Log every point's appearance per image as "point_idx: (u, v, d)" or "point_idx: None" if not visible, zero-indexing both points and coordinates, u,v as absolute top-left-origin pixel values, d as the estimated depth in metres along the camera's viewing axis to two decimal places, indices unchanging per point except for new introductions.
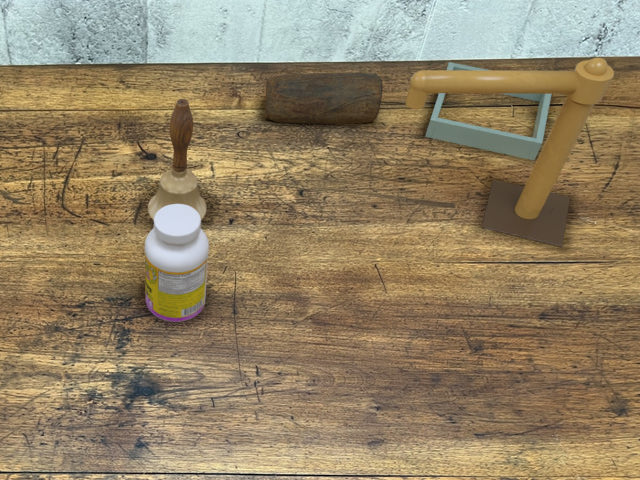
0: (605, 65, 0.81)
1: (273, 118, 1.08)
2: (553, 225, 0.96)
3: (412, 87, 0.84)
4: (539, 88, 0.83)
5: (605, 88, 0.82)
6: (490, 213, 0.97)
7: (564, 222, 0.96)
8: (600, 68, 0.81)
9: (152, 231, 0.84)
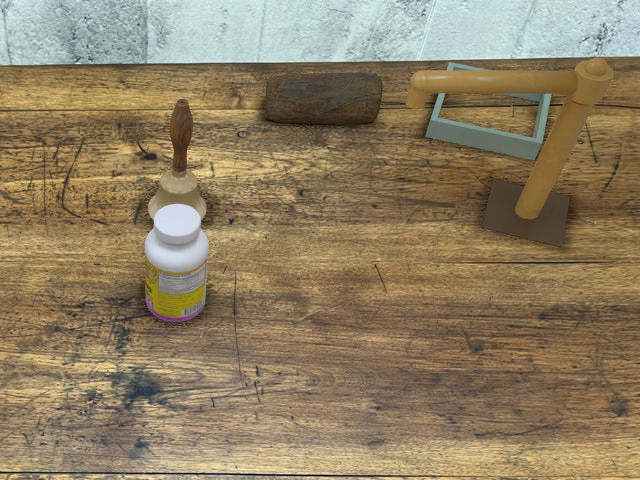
0: (605, 65, 0.81)
1: (273, 118, 1.08)
2: (553, 225, 0.96)
3: (412, 87, 0.84)
4: (539, 88, 0.83)
5: (605, 88, 0.82)
6: (490, 213, 0.97)
7: (564, 222, 0.96)
8: (600, 68, 0.81)
9: (152, 231, 0.84)
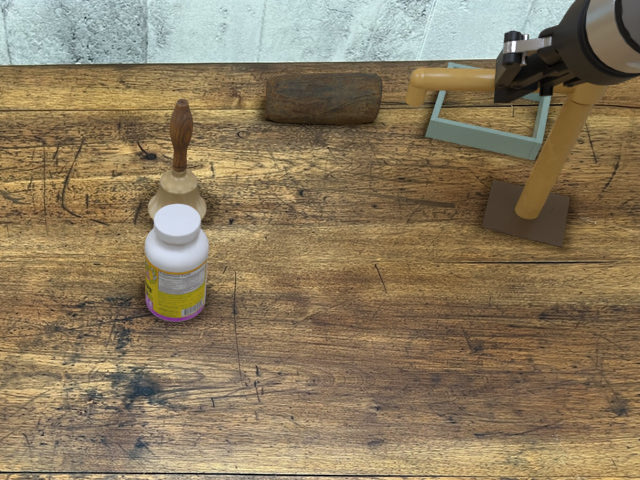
0: None
1: (273, 118, 1.08)
2: (553, 225, 0.96)
3: (411, 84, 0.84)
4: None
5: (605, 88, 0.82)
6: (490, 213, 0.97)
7: (564, 222, 0.96)
8: None
9: (152, 231, 0.84)
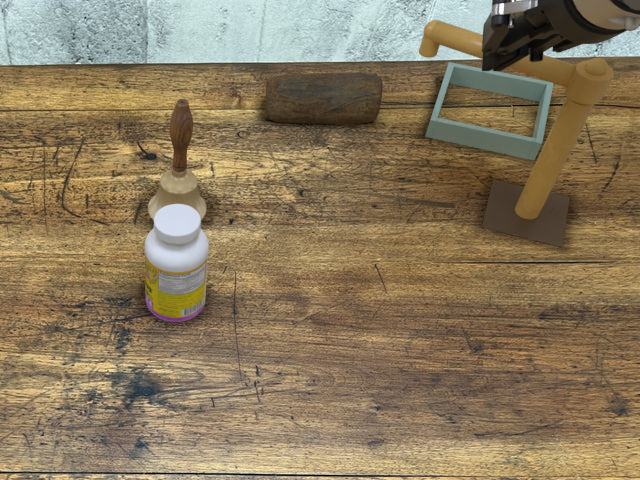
0: (601, 66, 0.81)
1: (273, 118, 1.08)
2: (553, 225, 0.96)
3: None
4: (534, 70, 0.85)
5: (596, 90, 0.82)
6: (490, 213, 0.97)
7: (564, 222, 0.96)
8: (595, 67, 0.81)
9: (152, 231, 0.84)
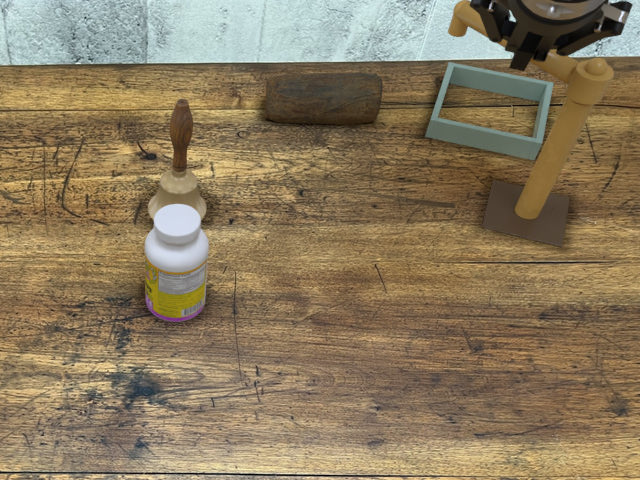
0: (599, 66, 0.81)
1: (273, 118, 1.08)
2: (553, 225, 0.96)
3: (453, 11, 0.92)
4: None
5: (590, 89, 0.82)
6: (490, 213, 0.97)
7: (564, 222, 0.96)
8: (592, 66, 0.81)
9: (152, 231, 0.84)
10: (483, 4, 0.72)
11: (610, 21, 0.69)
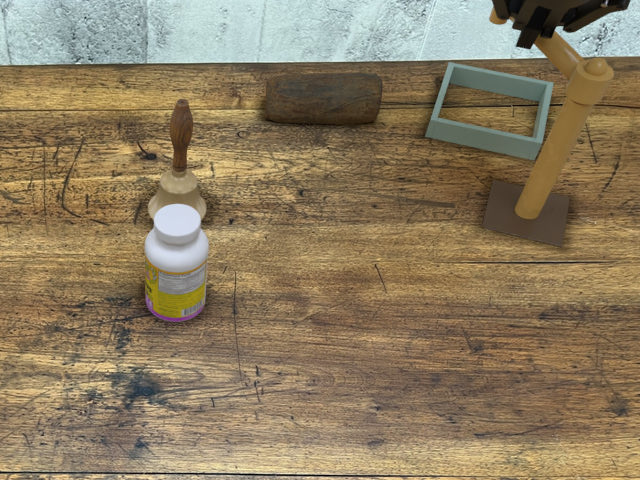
0: (596, 65, 0.81)
1: (273, 118, 1.08)
2: (553, 225, 0.96)
3: None
4: (551, 55, 0.86)
5: (583, 88, 0.82)
6: (490, 213, 0.97)
7: (564, 222, 0.96)
8: (590, 64, 0.81)
9: (152, 231, 0.84)
10: None
11: None
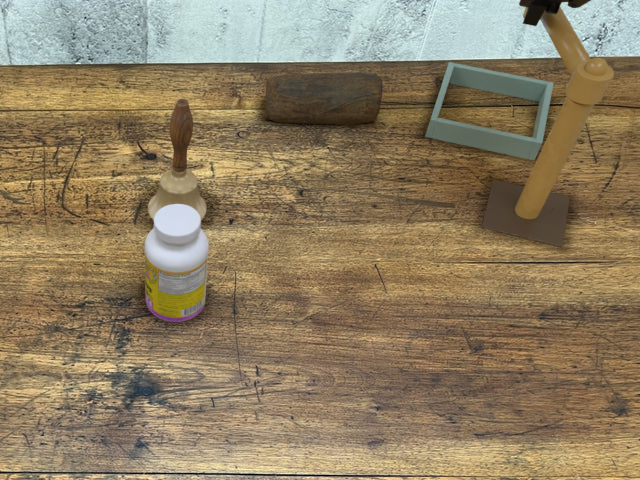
0: (594, 65, 0.81)
1: (273, 118, 1.08)
2: (553, 225, 0.96)
3: None
4: (562, 53, 0.86)
5: (579, 86, 0.82)
6: (490, 213, 0.97)
7: (564, 222, 0.96)
8: (589, 63, 0.81)
9: (152, 231, 0.84)
10: None
11: None
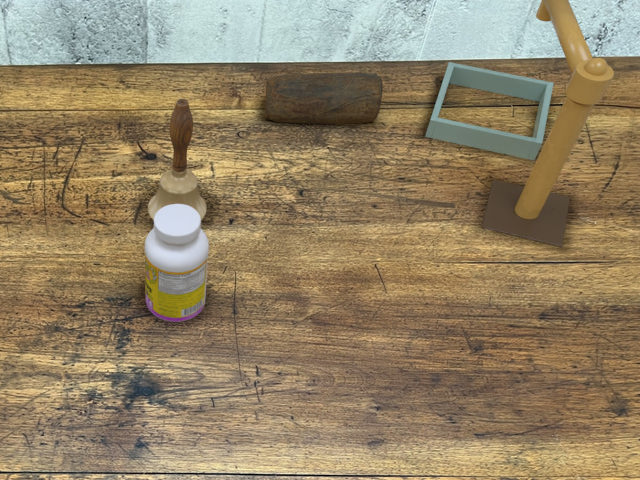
0: (594, 64, 0.81)
1: (273, 118, 1.08)
2: (553, 225, 0.96)
3: None
4: (566, 52, 0.86)
5: (578, 85, 0.82)
6: (490, 213, 0.97)
7: (564, 222, 0.96)
8: (589, 63, 0.82)
9: (152, 231, 0.84)
10: None
11: None
